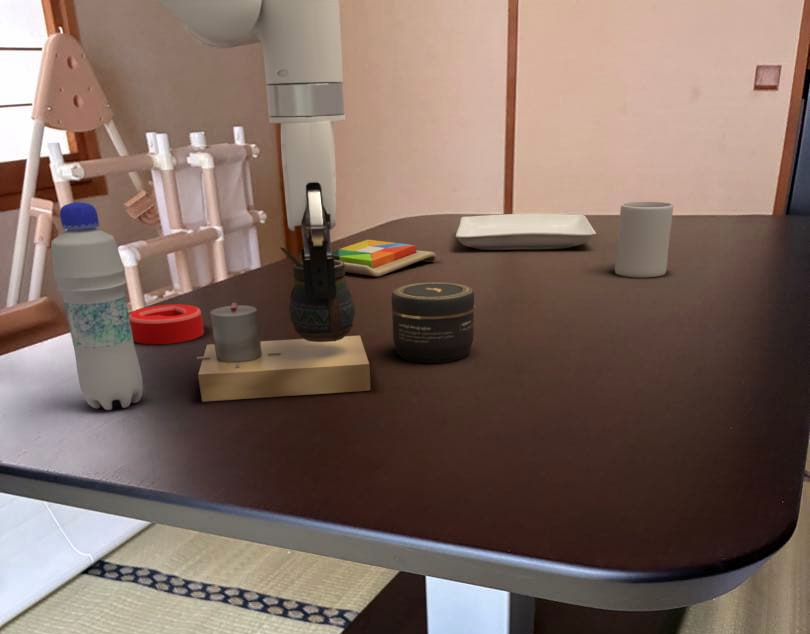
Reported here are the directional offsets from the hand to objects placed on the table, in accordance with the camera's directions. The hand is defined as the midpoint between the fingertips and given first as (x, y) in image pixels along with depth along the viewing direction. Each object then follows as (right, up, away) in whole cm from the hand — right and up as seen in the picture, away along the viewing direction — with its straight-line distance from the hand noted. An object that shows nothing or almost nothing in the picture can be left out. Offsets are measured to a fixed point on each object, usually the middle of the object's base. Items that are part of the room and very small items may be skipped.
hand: (319, 290), depth 91 cm
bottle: (-22, -13, -2) cm, 25 cm away
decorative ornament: (-23, +1, +24) cm, 33 cm away
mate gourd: (0, -5, +2) cm, 5 cm away
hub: (-9, -7, +2) cm, 12 cm away
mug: (+50, +19, +54) cm, 76 cm away
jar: (+13, -4, +12) cm, 18 cm away
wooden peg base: (-4, -9, +4) cm, 11 cm away
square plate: (+34, +36, +85) cm, 99 cm away
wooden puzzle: (+3, +24, +65) cm, 70 cm away
